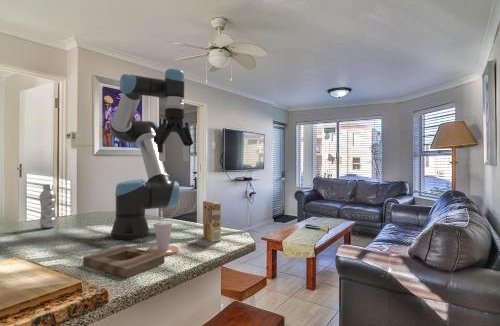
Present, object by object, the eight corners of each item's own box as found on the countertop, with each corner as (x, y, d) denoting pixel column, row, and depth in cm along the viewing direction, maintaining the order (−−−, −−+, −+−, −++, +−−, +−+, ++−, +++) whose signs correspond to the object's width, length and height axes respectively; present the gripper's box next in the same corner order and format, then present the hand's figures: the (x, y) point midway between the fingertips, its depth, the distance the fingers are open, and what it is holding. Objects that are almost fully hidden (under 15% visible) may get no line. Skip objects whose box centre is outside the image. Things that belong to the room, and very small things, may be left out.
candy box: (221, 241, 121) (221, 202, 121) (211, 242, 118) (212, 203, 118) (211, 236, 128) (211, 200, 128) (202, 237, 126) (202, 200, 126)
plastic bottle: (59, 227, 141) (59, 184, 141) (43, 230, 135) (43, 185, 135) (52, 225, 145) (52, 184, 144) (36, 228, 139) (36, 185, 138)
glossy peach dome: (139, 253, 105) (139, 251, 105) (162, 245, 114) (162, 243, 114) (162, 258, 99) (162, 256, 99) (185, 250, 109) (185, 248, 109)
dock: (83, 264, 93) (83, 256, 93) (122, 252, 105) (122, 245, 105) (126, 278, 83) (126, 268, 83) (164, 262, 95) (164, 255, 95)
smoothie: (155, 247, 110) (156, 208, 110) (173, 246, 110) (174, 208, 110) (151, 252, 103) (151, 211, 103) (170, 252, 104) (170, 211, 104)
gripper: (157, 102, 109) (157, 161, 110) (201, 112, 131) (201, 161, 131) (143, 104, 113) (143, 161, 113) (188, 113, 135) (187, 161, 135)
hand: (174, 161), depth 122 cm, fingers open, 13 cm apart
